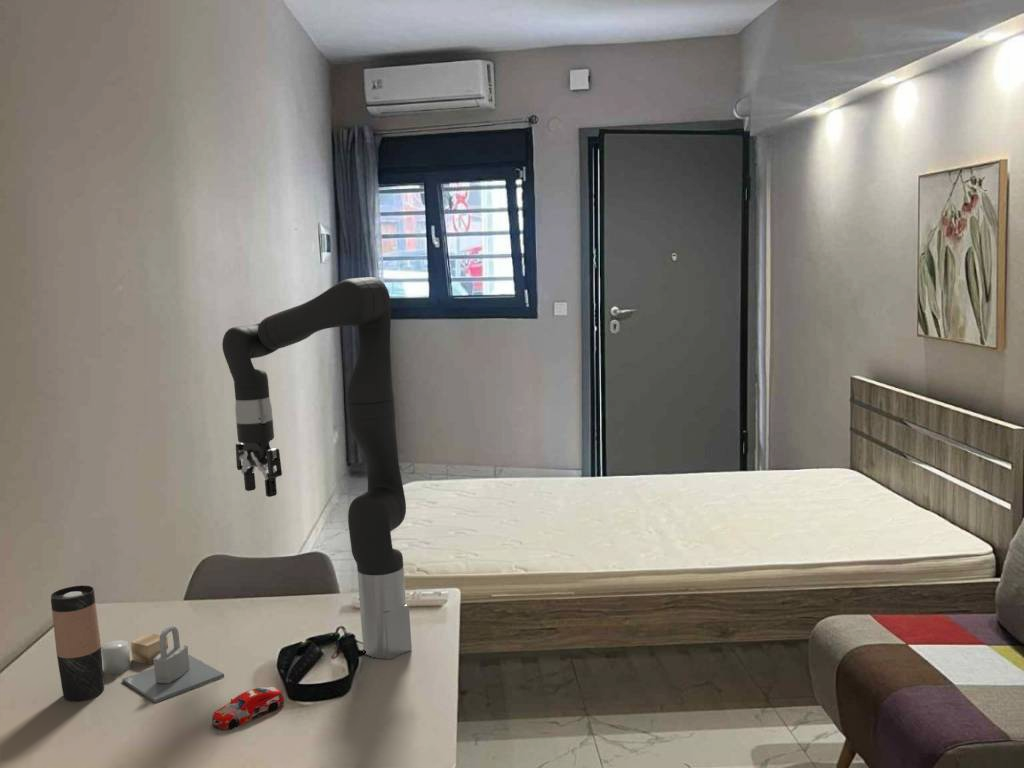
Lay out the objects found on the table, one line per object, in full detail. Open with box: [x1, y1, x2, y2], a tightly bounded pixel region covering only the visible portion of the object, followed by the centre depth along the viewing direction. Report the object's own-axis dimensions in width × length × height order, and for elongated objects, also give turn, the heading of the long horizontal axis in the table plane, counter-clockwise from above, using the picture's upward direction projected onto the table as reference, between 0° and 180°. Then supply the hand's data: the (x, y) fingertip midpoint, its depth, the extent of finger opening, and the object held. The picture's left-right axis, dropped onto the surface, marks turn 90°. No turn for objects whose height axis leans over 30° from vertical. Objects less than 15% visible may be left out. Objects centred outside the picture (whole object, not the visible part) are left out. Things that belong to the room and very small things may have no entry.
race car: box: [211, 686, 285, 730], centre depth 172 cm, size 13×5×4 cm, turn 134°
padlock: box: [153, 624, 190, 684], centre depth 188 cm, size 7×4×10 cm, turn 164°
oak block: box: [130, 632, 169, 665], centre depth 200 cm, size 5×5×4 cm
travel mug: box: [50, 585, 105, 702], centre depth 183 cm, size 8×8×20 cm
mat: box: [121, 654, 225, 703], centre depth 189 cm, size 14×14×1 cm
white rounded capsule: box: [101, 639, 132, 675], centre depth 195 cm, size 5×5×5 cm
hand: (260, 493), depth 209 cm, fingers open, 8 cm apart
